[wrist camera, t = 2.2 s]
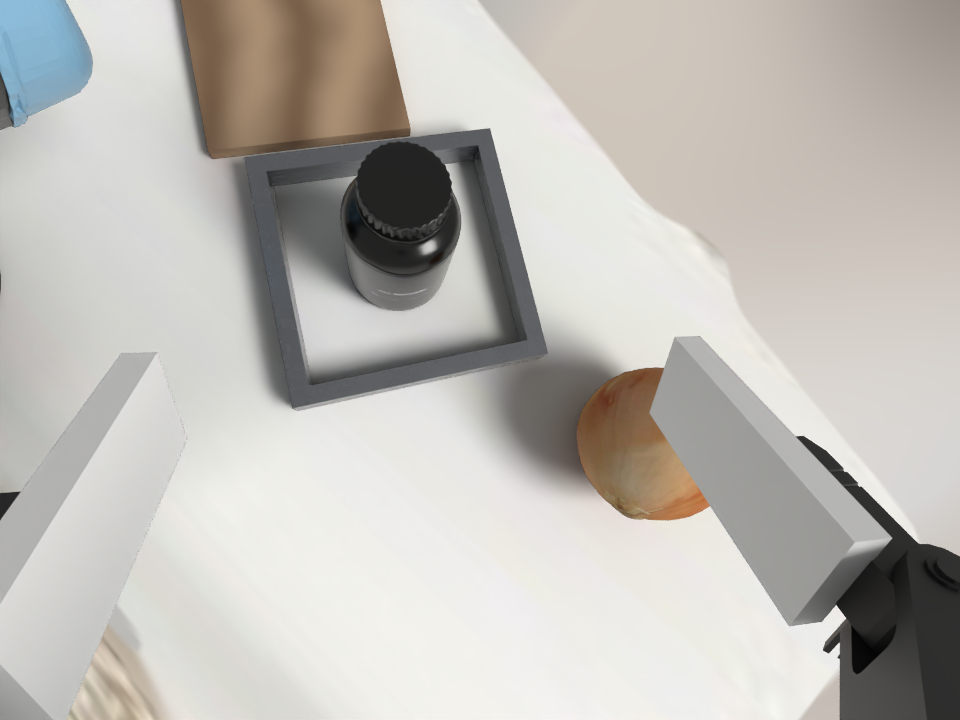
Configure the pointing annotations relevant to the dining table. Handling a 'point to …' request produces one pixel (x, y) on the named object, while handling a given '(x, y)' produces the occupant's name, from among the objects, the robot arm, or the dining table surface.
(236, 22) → the walnut board
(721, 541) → the dining table surface
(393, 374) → the metal rim
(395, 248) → the supplement bottle
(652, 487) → the onion
